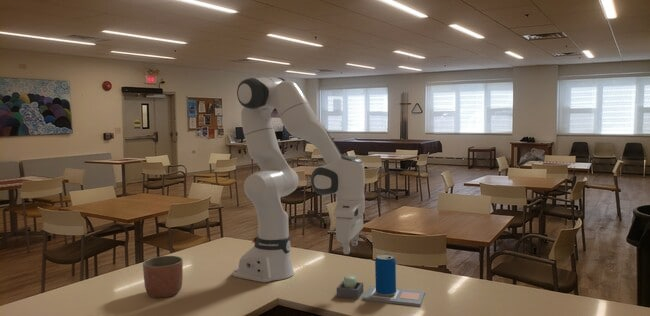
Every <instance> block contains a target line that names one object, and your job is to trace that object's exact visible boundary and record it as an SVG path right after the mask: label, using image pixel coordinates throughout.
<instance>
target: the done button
mask: <svg viewBox="0 0 650 316" xmlns="http://www.w3.org/2000/svg"><path fill="white" fill-rule="evenodd" d="M343 281H344V288H351V289H356V282H357V277H356V276H355V275H346V276H344V277H343Z"/></svg>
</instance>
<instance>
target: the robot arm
mask: <svg viewBox="0 0 650 316" xmlns="http://www.w3.org/2000/svg"><path fill="white" fill-rule="evenodd" d="M236 96H237V100H238V102H239V104H240V105H241V106H242V109H241V111H240V117H241V118H240V119H241V127H242V133H243V136H244V140H245V144H246V148H247V152H248V155H249V157H250V159H252V160H253V161H254V162H255V163H256V164H257V165H258V167H259V168H260V170H258V171H255V172H252V174H250V175H248V176H247V177H246V179H245V181H244V183H243V192H244V194H245V196H246V197H247V198H248V199H249V201H251V202H252V204H253V206H254V208H255V212H256V216H257V236H256V237H254V239H251V241H252V242H251V243H252V244H253V243H254V245H253V246H252V247H251V248H250V249H249V250H248V251H246V252H245V253H244V254H243V255H242V256H241V257H240V259H239V262H238V267H236V268H235V269H234V270H233V271H232V277H235V278H240V279H244V280H250V281H254V282H259V283H269V282H272V281H279V280H280V281H281V280H285V279H288V278H290V277H293V275H294V274H295V271H294V269H293V264H292V258H291V253H290V251H291V235H290V231H289V230H290V228H289V214H288V212H287V211H285V210H284V208H283V205H282V201H281V198H283V197H287V196H288V195H291V194H292V193H293V192H295V190H297V188H298V186H299V183H300V179H299V176H298V173H297V172H296V171H295V170H294V169H293V168H291V166H290V165H289V164H288V162H287V160H286V159H285V156H284V155H283V153H282V152H281V149H280V146H279V143H278V142H279V141H278V139H277V136H276V135H277V134H276V132H275V129H274V124H273V121H272V113H273V112H277V114H278V116H279V119H280V121H281V123H282V125H283V127H284V128H285V130H286V131H287V132H288V133H289V134H290V135H291V136H292V137H295V138H298V139H301V140H303V141H306V142H308V143H310V144H311V145H313V147H315V148H316V149H317V151H318V152H319V154H320V156H321V158H322V159H323V161H324V163H325V165H321V166H319V167H316V168H314V170H312V172H311V175H310V185H311V188H312V189H313V191H314V192H315V193H317V194H318V195H320V196H322V195H323V196H328V195H333V194H335V195H336V199H337V200H336V207H335V208H334V211H333V217H334V218H335V221H334V222H335V239H336V241H337V242H338V243H341V245H342V248H343V249H342V250H343V251H342V252H343V254H344V255H349V254H350V252H351V247H350V243H351V246H352V247H357V246H358V241H359V240H358V239H359V236H360V232H361V231H362V230H363V229H364V214H365V212H366V211H365V210H366V209H365V207H366V206H365V205H366V204H365V203H366V196H365V191H364V190H365V186H366V174H365V173H366V171H365V165H364V161H362V159H360V158H359V157H355V156H351V155H350V156H349V155H342V153H341V151H340V149H339V147H338V146H337V145H336V143H335V141H334V140H333V138H332V136H331V134H329V131H328V130H327V129H326V128H325V126H324V125H323V124H322V123H321V120H319V118H318V117H317V115H316V113H315V112H314V111H313V108H312V106H311V104H310V102H309V100H308V99H307V97H306V95H305V93H304V92H303V91H302V89H301V88H300V87H299V85H298V84H297V83H296V82H294V81H293V80H287V79H285V78H283V77H271V76H270V77H269V76H263V77H249V78H245V79H243V80H242V81H241V82H239V84H238V86H237V89H236Z"/></svg>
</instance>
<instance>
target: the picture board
mask: <svg viewBox="0 0 650 316" xmlns="http://www.w3.org/2000/svg"><path fill="white" fill-rule="evenodd" d="M425 295H426V291H424V290H417V289H407V288H397V287H396V292H395V293H394V294H393V295H391V296H382V295H379V294H378V293H377V292H376V285H370V286H369V287H368V289H367V290H366V292H365V293H364V295H363V296H362V301H368V302H369V301H370V302H379V303H387V304H394V305H395V304H396V305H405V306H411V307H412V306H413V307H421V306H422V304H423V300H424V297H425Z"/></svg>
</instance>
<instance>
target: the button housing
mask: <svg viewBox="0 0 650 316" xmlns="http://www.w3.org/2000/svg"><path fill="white" fill-rule="evenodd" d="M363 293H364V282H359V281H356V289H351V288H344V280H342V281H341V282H340V284H338V285H337V287H336V297H337V298H342V299H351V300H352V299H353V300H359V298H360V297H361V296H362V294H363Z"/></svg>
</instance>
